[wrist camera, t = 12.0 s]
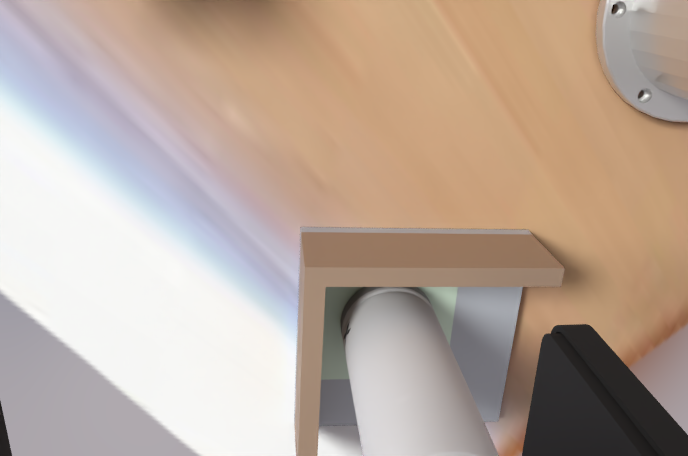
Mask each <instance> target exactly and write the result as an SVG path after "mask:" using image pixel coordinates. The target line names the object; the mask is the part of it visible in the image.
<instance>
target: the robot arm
mask: <svg viewBox="0 0 688 456" xmlns="http://www.w3.org/2000/svg"><path fill="white" fill-rule="evenodd" d="M613 5H614V6H615V9H614V11H613V12H611V9H612V7H613ZM596 42H597V51H598V56H599V60H600V63H601V66H602V69H603V72H604V74H605V76H606V78H607V79H608V81H609V83H610V85H611V86H612V88H613V89H614V90H615V91H616V93H617V94H618V95H619V96H620V97H621V98H622V99H623V100H624V101H625V102H626V103H628V104H629V105H631V106H632V107H634V108H635V109H637V110H638V111H641V112H643V113H646V114H648V115H650V116H652V117H655V118H659V119H663V120H667V121H671V122H688V0H600V3H599V7H598V11H597V22H596ZM639 92H640V94H639ZM638 94H639V96H638ZM0 456H12V453H11V449H10V444H9V439H8V435H7V430H6V425H5V421H4V416H3V411H2V407H1V402H0ZM522 456H688V435H687V434H686V433H685V431H684V430H683V429H682V428H681V427H680V426H679V425H678V424H677V422H676V421H675V420H674V419H673V418H672V417H671V416H670V415H669V413H668V412H667V411H666V410H665V409H664V408H663V407H662V406H661V404H660V403H659V402H658V401H657V400H656V399H655V398H654V397H653V395H652V394H651V393H650V392H649V391H648V390H647V389H646V388H645V386H644V385H643V384H642V383H641V382H640V381H639V380H638V379H637V377H636V376H635V375H634V374H633V373H632V372H631V371H630V369H629V368H628V367H627V366H626V365H625V364H624V363H623V362H622V360H621V359H620V358H619V357H618V356H617V355H616V354H615V353H614V351H613V350H612V349H611V348H610V347H609V346H608V345H607V344H606V342H605V341H604V340H603V339H602V338H601V337H600V336H599V334H598V333H597V332H596V331H595V330H594V329H593V328H592V327H591V326H590V325H586V324H582V325H557V326H555V327H554V328H553V330H552V331H551V334H545V335H544V337H543V339H542V343H541V348H540V354H539V360H538V366H537V371H536V377H535V383H534V389H533V395H532V400H531V406H530V412H529V418H528V423H527V429H526V435H525V441H524V446H523V453H522Z"/></svg>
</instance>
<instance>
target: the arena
mask: <svg viewBox="0 0 688 456" xmlns="http://www.w3.org/2000/svg"><path fill="white" fill-rule="evenodd" d="M564 270H565V268H564V267H563V266H562V265H561V264H560V263H559V262H558V261H557V260H556V259H555V258H554V257H553V255H552V254H551V253H550V252H549V251H548V250H547V249H546V248H545V247H544V246H543V245H542V244H541V243H540V242H539V241H538V240H537V239H536V238H535V237H534V236H533V235H532V234H531V233H530V232H529V230H507V229H420V228H333V227H300V258H299V289H298V320H297V352H296V383H295V414H294V422H295V442H296V456H317V450H318V430H319V426H337V425H358V424H357V419H356V413H355V407H354V402H353V396H352V390H351V384H350V379H349V373H348V367H347V362H346V356H345V350H344V344H343V339H342V333H341V316H342V312H343V309H344V307H345V305H346V303H347V302H348V300H349V299H350V298H351V297H352V296H353V295H354V294H355V293H356V292H357V291H358V290H360V289H361V288H363V287H418V288H419V289H420V290H421V291H423V292H424V293H425V295H426V296H427V297H428V299H429V301H430V303H431V305H432V307H433V309H434V312H435V314H436V316H437V318H438V321H439V323H440V325H441V327H442V330H443V332H444V334H445V336H446V339H447V341H448V343H449V345H450V347H451V350H452V352H453V354H454V356H455V359H456V361H457V363H458V365H459V368H460V370H461V372H462V374H463V377H464V379H465V381H466V383H467V385H468V388H469V390H470V392H471V394H472V397H473V399H474V401H475V403H476V406H477V408H478V410H479V412H480V415H481V417H482V419H483V421H484V422H496V421H499V415H500V410H501V404H502V399H503V393H504V388H505V382H506V377H507V371H508V366H509V360H510V355H511V349H512V344H513V338H514V333H515V327H516V322H517V316H518V311H519V305H520V300H521V294H522V289H523V287H561V285H562V280H563V275H564Z"/></svg>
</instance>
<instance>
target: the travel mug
mask: <svg viewBox="0 0 688 456" xmlns="http://www.w3.org/2000/svg"><path fill="white" fill-rule="evenodd" d="M341 333H342V339H343V344H344V350H345V356H346V362H347V367H348V373H349V379H350V384H351V390H352V396H353V402H354V407H355V413H356V419H357V424H358V430H359V436H360V442H361V447H362V453H363V456H499V455H498V453H497V450H496V448H495V446H494V444H493V441H492V439H491V437H490V435H489V432H488V430H487V428H486V426H485V423H484V421H483V419H482V417H481V415H480V412H479V410H478V408H477V406H476V403H475V401H474V399H473V397H472V394H471V392H470V390H469V388H468V385H467V383H466V381H465V379H464V377H463V374H462V372H461V370H460V368H459V365H458V363H457V361H456V359H455V356H454V354H453V352H452V350H451V347H450V345H449V343H448V341H447V339H446V336H445V334H444V332H443V330H442V327H441V325H440V323H439V321H438V318H437V316H436V314H435V312H434V309H433V307H432V305H431V303H430V301H429V299H428V297H427V296H426V295H425V293H424V292H423V291H421V290H420V289H419V288H418V287H363V288H361V289H360V290H358V291H357V292H356V293H355V294H354V295H353V296H352V297H351V298H350V299H349V300H348V302H347V303H346V305H345V307H344V309H343V312H342V316H341Z"/></svg>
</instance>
